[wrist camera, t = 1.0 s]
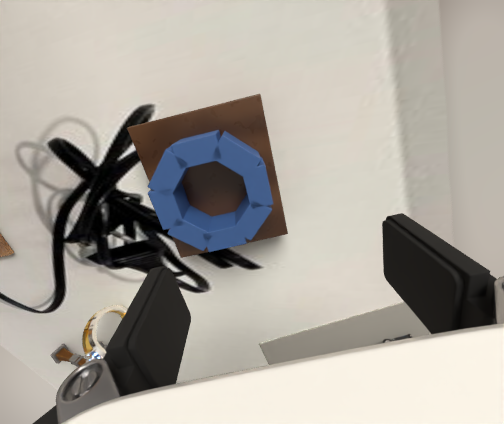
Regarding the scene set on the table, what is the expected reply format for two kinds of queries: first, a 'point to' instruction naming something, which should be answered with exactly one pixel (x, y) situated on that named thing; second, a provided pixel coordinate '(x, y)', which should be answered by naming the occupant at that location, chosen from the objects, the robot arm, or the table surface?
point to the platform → (214, 173)
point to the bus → (347, 334)
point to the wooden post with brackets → (69, 356)
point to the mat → (4, 247)
